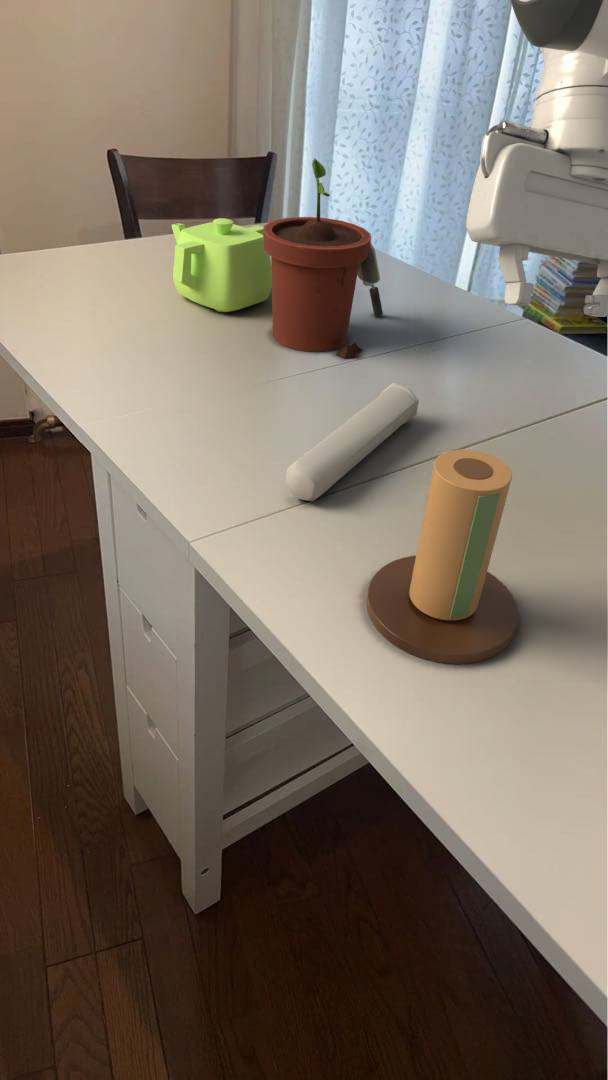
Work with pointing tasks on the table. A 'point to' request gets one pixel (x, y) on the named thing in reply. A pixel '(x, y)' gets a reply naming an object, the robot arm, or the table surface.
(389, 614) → the disc
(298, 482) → the tube
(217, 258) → the teapot
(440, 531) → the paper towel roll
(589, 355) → the table surface
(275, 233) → the potted plant
